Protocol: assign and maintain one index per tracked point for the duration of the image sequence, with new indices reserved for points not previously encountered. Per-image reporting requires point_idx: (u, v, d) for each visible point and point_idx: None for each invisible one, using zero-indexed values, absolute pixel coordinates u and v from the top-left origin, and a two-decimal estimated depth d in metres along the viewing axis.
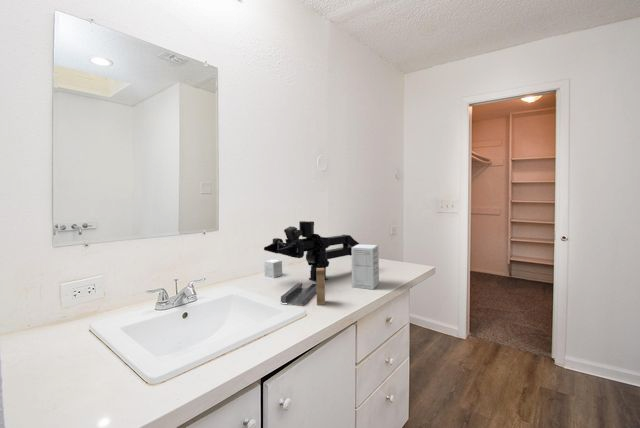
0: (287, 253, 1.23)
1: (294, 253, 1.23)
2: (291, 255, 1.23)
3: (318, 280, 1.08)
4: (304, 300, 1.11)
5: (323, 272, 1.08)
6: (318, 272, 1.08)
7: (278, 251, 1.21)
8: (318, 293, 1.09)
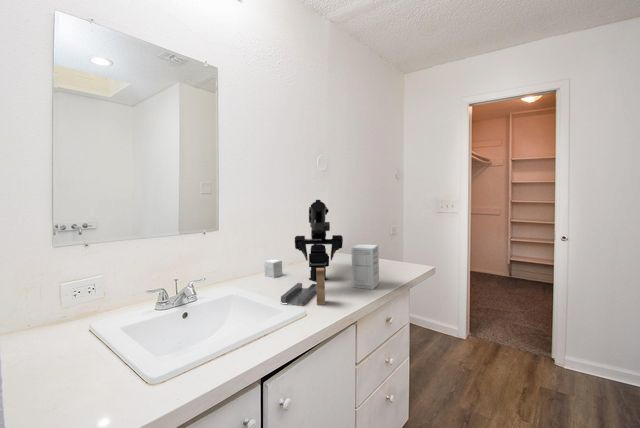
0: (334, 252, 1.22)
1: (337, 247, 1.24)
2: (335, 250, 1.24)
3: (318, 280, 1.08)
4: (304, 300, 1.11)
5: (323, 272, 1.08)
6: (318, 272, 1.08)
7: None
8: (318, 293, 1.09)
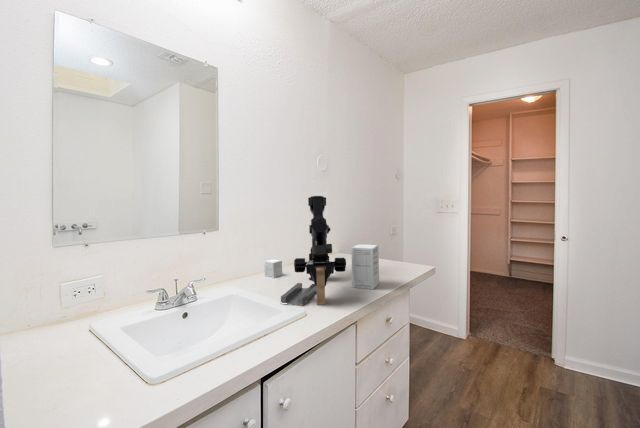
0: (328, 276, 1.13)
1: (331, 271, 1.15)
2: (329, 274, 1.15)
3: (318, 280, 1.08)
4: (304, 300, 1.11)
5: (323, 272, 1.08)
6: (318, 272, 1.08)
7: None
8: (318, 293, 1.09)
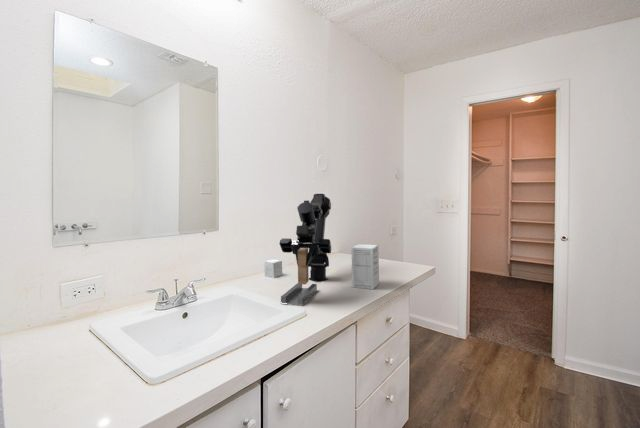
0: (312, 257, 1.14)
1: (316, 252, 1.15)
2: (314, 255, 1.15)
3: (299, 259, 1.10)
4: (304, 300, 1.11)
5: (304, 252, 1.10)
6: (299, 252, 1.10)
7: (307, 264, 1.11)
8: (299, 272, 1.10)
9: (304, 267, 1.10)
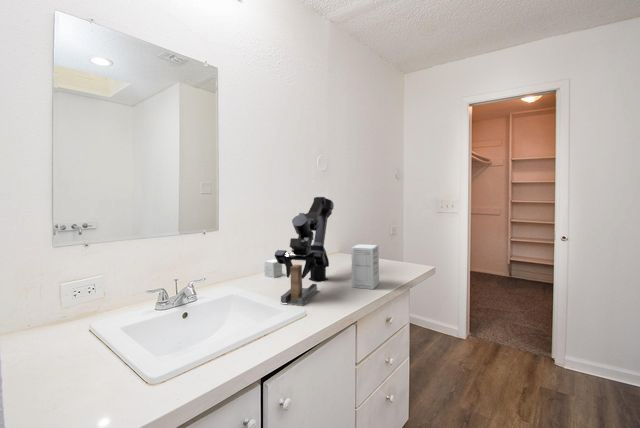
0: (308, 270, 1.15)
1: (313, 265, 1.16)
2: (311, 268, 1.16)
3: (292, 276, 1.12)
4: (304, 300, 1.11)
5: (296, 269, 1.11)
6: (292, 268, 1.12)
7: (303, 276, 1.12)
8: (292, 289, 1.12)
9: (296, 284, 1.11)
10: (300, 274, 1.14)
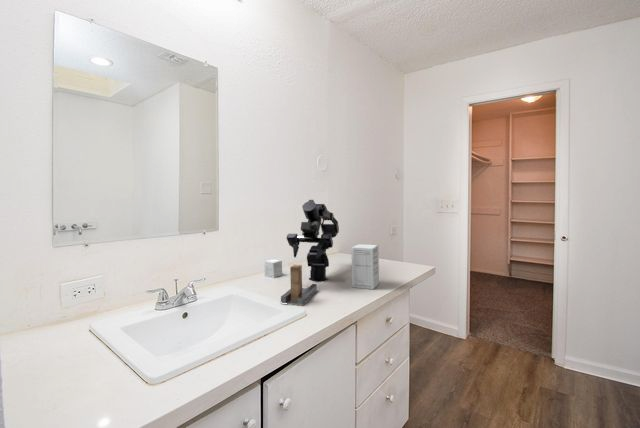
0: (322, 251, 1.26)
1: (326, 246, 1.27)
2: (324, 249, 1.27)
3: (292, 276, 1.12)
4: (304, 300, 1.11)
5: (296, 269, 1.11)
6: (292, 268, 1.12)
7: (317, 256, 1.23)
8: (292, 289, 1.12)
9: (296, 284, 1.11)
10: (300, 274, 1.14)
